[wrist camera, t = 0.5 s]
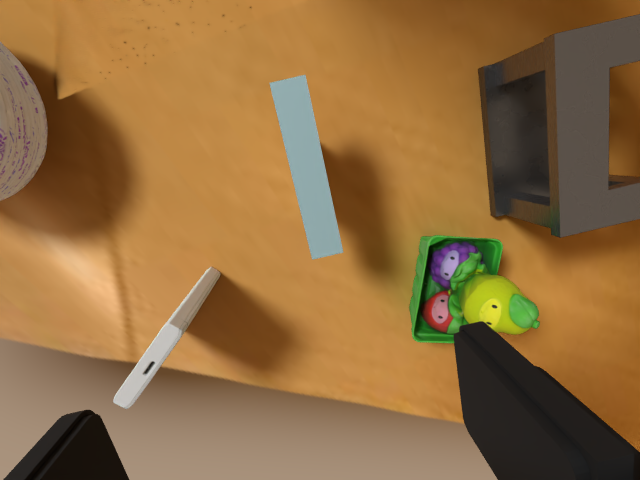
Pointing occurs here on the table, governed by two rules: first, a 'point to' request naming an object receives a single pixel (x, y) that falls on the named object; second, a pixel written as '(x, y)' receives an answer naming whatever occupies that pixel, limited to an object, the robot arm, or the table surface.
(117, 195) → the table surface
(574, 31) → the gray open box frame
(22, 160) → the paper bowls
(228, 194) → the table surface
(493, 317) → the fruit basket
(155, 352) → the hard drive
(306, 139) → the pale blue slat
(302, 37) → the table surface
